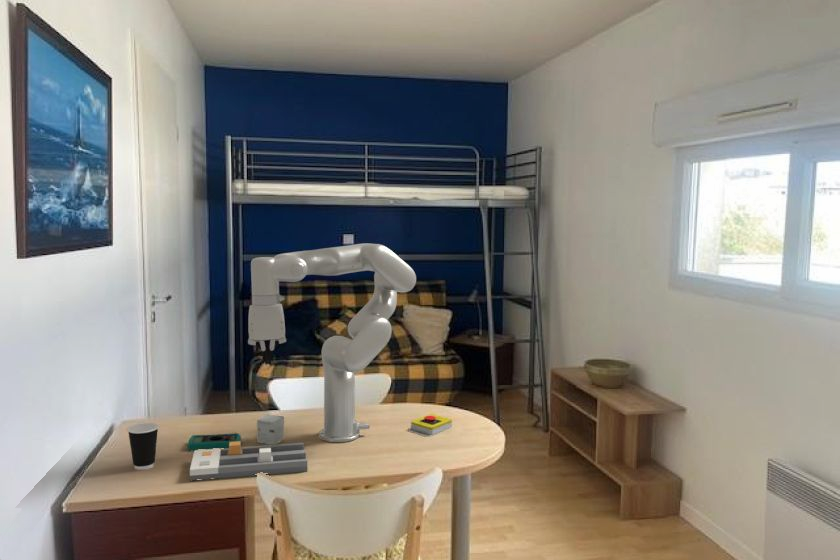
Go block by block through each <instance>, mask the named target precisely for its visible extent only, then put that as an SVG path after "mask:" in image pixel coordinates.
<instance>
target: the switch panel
mask: <svg viewBox="0 0 840 560" xmlns="http://www.w3.org/2000/svg"><path fill="white" fill-rule="evenodd" d="M262 448H271V456H273V462H263V463H258V457H260V456H259V449H262ZM241 449H243V455H229V456H227V453H228V450H229V448H224V449H221V448H219V449H206V450H195V451H193V455H192V459H191V463H190V468H189V481H190V480H197V479H211V478H223V479H230V478H231V479H232V478H234V477H235V478H245V477H256V476H255V474H257V473H260V472H263V473H268V474H270V475H281V474H293V473H304V472H308V458H307V453H306V452H307V451H306V449H305V443H304V442H296V443H295V442H294V443H281V444H275V445H270V444H264V445H257V446H256V445H254V446H253V445H252V446H241ZM235 478H234V479H235Z"/></svg>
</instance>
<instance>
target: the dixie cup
mask: <svg viewBox="0 0 840 560" xmlns="http://www.w3.org/2000/svg"><path fill="white" fill-rule="evenodd" d="M159 426H160V425H159V424H158V423H154V422H141V423H136V424H132V425H130V426H128V428H127V429H126V430H127V432H128V438H129V445H130V451H131V458H132V464H133V466H134V469H135V470H139V471H143V470H144V471H145V470H149V469H151V468H153V467H154V464H155V463H156V455H157V453H156V452H157V442H158V441H157V440H158V432H159V431H158V429H159Z"/></svg>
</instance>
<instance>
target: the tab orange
mask: <svg viewBox="0 0 840 560" xmlns="http://www.w3.org/2000/svg"><path fill="white" fill-rule="evenodd" d="M241 444H242V440H241V441H236V442H229V450H228V453H227V456H229V455H243V449H241V447H242V446H241Z"/></svg>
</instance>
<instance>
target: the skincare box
mask: <svg viewBox="0 0 840 560" xmlns="http://www.w3.org/2000/svg"><path fill="white" fill-rule="evenodd" d="M256 427H257V428H256V442H257V443H258V442H259V443H258V444H263V443H266V444H265V445H270V444H271V445H277V444H278V443H280V442H281V441H283V440H285V416H283V415H277V414H265V415H264V416H262V417H259V418H258V419H256ZM279 441H280V442H279ZM276 443H277V444H276Z"/></svg>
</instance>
